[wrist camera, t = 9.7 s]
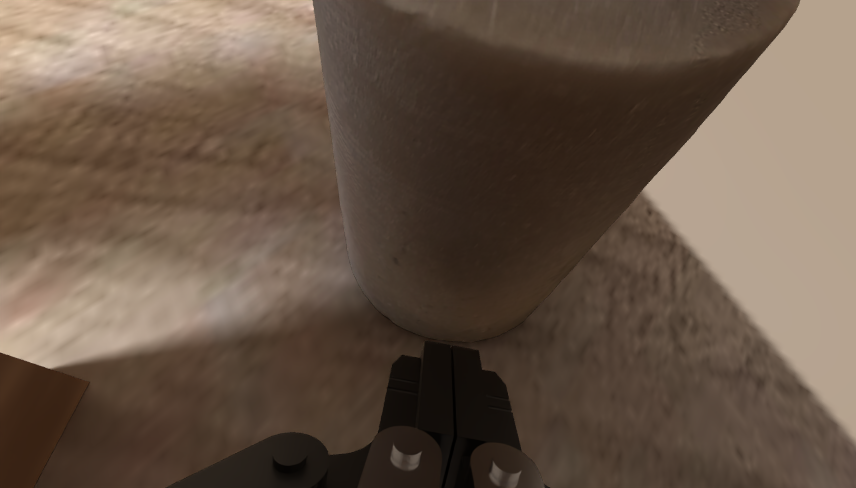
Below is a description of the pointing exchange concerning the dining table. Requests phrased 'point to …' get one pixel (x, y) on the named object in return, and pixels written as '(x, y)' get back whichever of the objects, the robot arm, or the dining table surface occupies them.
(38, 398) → the wooden arch gate
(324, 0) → the pillar candle
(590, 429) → the dining table surface
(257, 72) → the dining table surface
